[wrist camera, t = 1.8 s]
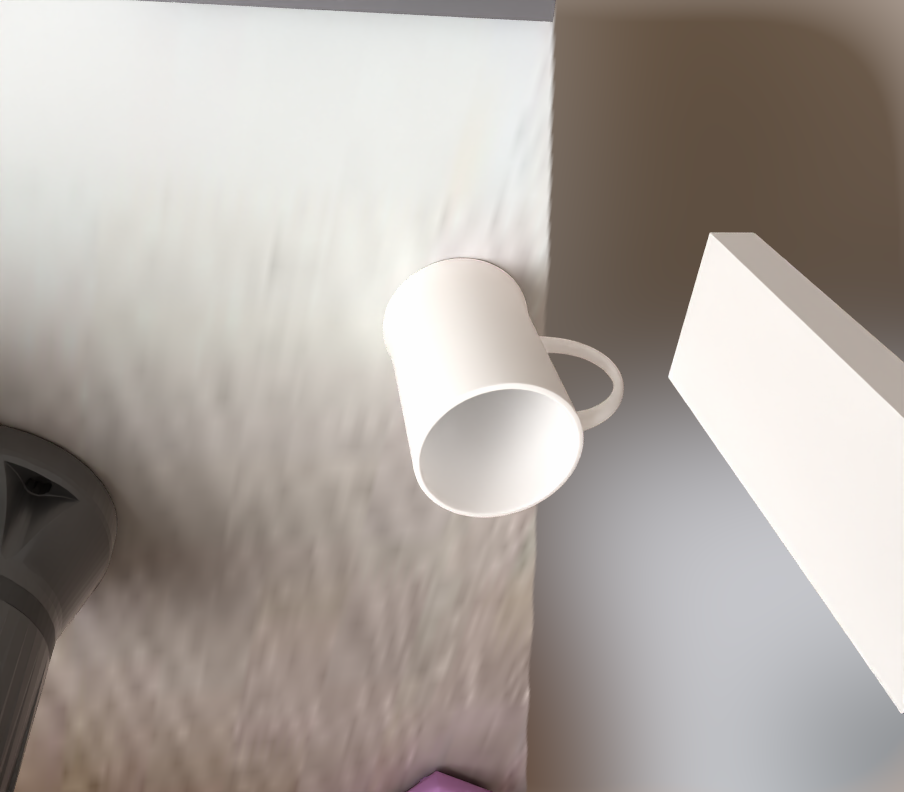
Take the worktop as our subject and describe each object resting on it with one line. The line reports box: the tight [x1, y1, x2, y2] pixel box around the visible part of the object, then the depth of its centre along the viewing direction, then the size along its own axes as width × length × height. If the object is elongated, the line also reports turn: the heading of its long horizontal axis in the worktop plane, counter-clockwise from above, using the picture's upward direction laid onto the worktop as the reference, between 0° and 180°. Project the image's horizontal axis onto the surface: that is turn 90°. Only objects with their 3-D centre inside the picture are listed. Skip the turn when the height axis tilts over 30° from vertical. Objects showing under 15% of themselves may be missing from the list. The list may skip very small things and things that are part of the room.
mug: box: [383, 258, 624, 517], centre depth 41 cm, size 12×8×12 cm
